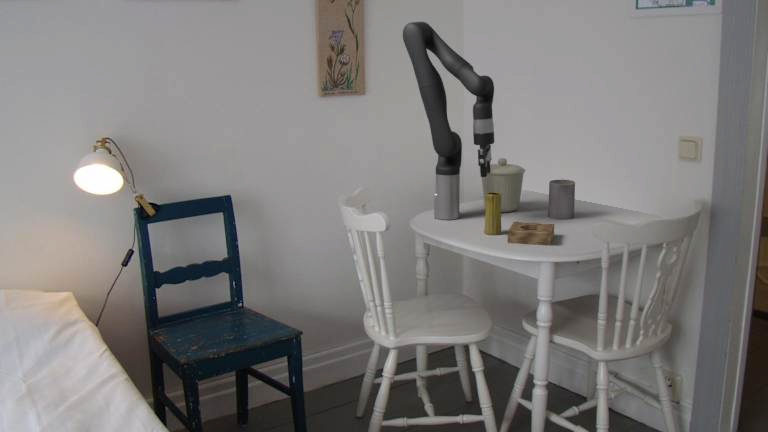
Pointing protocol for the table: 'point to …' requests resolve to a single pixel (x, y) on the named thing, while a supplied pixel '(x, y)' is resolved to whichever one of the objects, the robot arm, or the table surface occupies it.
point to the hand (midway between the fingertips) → (485, 174)
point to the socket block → (531, 233)
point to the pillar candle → (561, 199)
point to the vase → (493, 213)
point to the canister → (504, 184)
